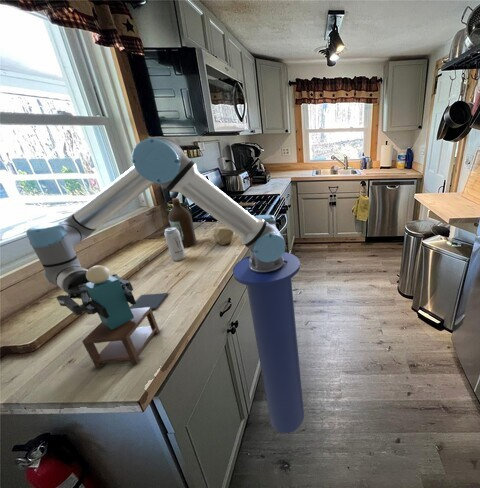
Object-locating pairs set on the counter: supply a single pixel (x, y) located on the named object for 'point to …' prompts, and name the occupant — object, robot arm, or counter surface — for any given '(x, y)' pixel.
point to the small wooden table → (122, 339)
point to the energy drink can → (174, 243)
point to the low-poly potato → (223, 235)
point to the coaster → (149, 301)
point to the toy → (108, 296)
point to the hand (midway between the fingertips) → (119, 306)
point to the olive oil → (182, 223)
